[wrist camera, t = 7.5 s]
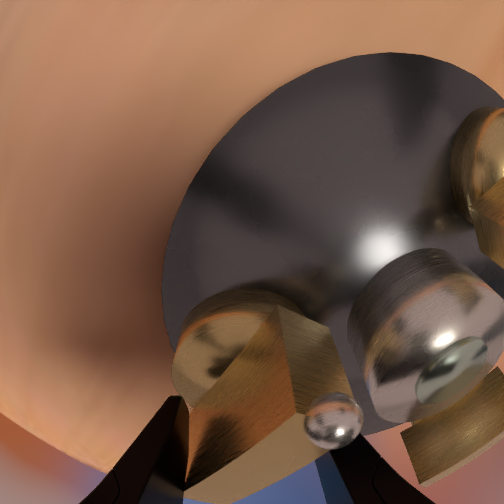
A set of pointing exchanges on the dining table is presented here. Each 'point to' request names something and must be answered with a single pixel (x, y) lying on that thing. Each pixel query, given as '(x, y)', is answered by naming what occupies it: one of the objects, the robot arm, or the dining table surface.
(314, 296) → the levelling base
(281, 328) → the wing knob
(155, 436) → the robot arm
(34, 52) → the dining table surface
